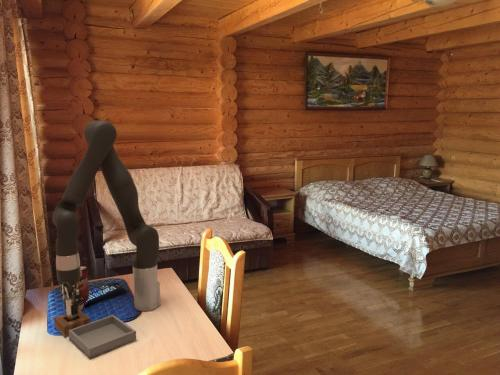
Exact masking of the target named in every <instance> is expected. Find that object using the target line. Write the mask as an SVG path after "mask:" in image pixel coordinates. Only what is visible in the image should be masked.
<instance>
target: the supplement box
mask: <svg viewBox="0 0 500 375" xmlns="http://www.w3.org/2000/svg"><path fill="white" fill-rule="evenodd" d="M80 273H81V277H80V278H79V279H78V280H77V281H76V283H77V286H78V288H77V289H81V303H80V304H78V310H80V311H82V310H83V309H84V308H85V307H84V303H85V302H86V301H87V300H88V299H89V300H90V296H89V295H90V294H89V277H88V275H89V274H88V266H82V265H80ZM83 307H84V308H83Z"/></svg>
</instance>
